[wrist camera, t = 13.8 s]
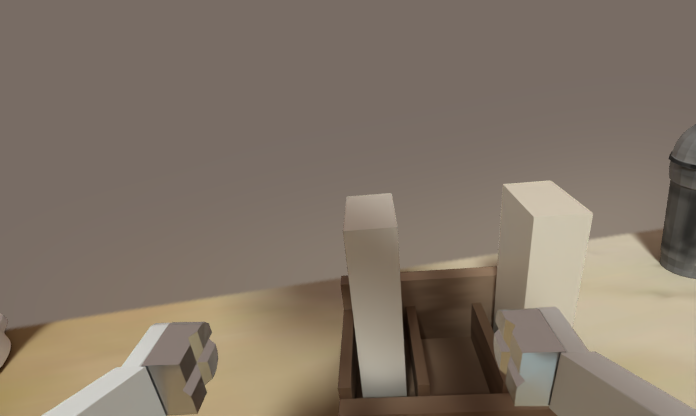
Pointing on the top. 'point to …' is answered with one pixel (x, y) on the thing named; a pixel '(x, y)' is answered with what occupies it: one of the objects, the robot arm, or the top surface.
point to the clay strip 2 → (540, 248)
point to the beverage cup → (681, 209)
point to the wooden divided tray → (437, 350)
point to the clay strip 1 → (376, 293)
